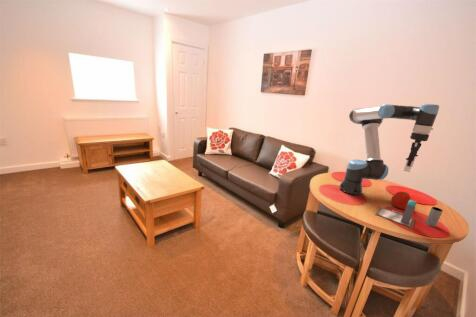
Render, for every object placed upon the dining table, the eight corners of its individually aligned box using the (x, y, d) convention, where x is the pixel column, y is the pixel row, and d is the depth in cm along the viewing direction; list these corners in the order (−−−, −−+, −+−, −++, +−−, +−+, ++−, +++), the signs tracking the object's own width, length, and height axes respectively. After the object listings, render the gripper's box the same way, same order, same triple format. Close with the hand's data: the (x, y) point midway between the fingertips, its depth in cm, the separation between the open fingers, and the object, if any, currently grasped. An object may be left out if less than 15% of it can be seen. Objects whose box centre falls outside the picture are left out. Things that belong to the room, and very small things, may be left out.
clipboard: (375, 214, 125) (375, 212, 125) (379, 207, 134) (380, 205, 134) (412, 228, 113) (413, 227, 113) (414, 219, 123) (415, 218, 122)
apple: (399, 202, 143) (403, 188, 140) (413, 210, 133) (419, 196, 130) (386, 202, 141) (391, 188, 138) (399, 211, 131) (405, 196, 128)
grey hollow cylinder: (423, 222, 121) (429, 206, 118) (430, 222, 121) (436, 206, 118) (430, 226, 117) (437, 211, 114) (438, 227, 117) (445, 211, 114)
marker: (400, 222, 118) (408, 201, 114) (401, 219, 121) (409, 199, 116) (408, 225, 116) (416, 203, 112) (409, 222, 118) (417, 201, 114)
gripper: (428, 136, 103) (413, 175, 110) (430, 132, 121) (418, 166, 127) (409, 133, 108) (396, 171, 115) (414, 129, 126) (402, 162, 132)
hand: (407, 168), depth 121 cm, fingers open, 13 cm apart
